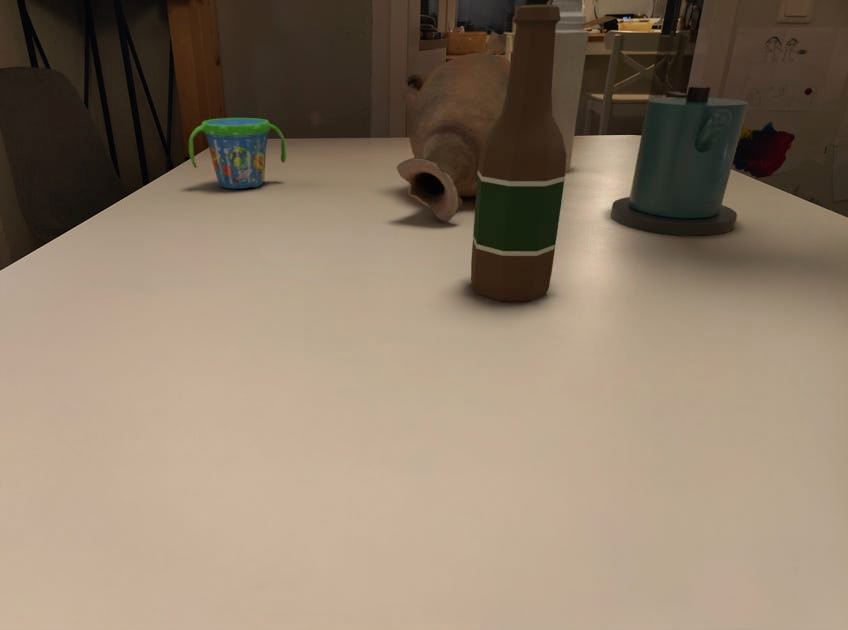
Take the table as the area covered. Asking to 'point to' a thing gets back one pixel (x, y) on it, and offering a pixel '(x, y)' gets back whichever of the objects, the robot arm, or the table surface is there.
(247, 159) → the snack cup
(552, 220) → the beer bottle
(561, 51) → the thermos bottle
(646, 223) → the kettle base
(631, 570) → the table surface
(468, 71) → the jug
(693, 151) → the kettle
